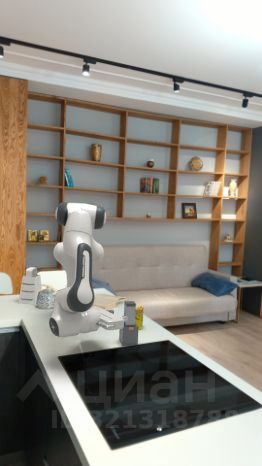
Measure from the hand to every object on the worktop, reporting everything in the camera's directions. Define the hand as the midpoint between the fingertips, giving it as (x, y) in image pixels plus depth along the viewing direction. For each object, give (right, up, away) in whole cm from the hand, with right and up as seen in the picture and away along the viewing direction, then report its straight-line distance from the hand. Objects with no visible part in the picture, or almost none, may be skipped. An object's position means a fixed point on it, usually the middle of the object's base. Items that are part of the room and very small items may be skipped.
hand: (119, 314), depth 146 cm
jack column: (+3, -13, +4) cm, 14 cm away
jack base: (+3, -14, +4) cm, 15 cm away
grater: (-54, -7, +62) cm, 82 cm away
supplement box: (+7, -13, +23) cm, 28 cm away
